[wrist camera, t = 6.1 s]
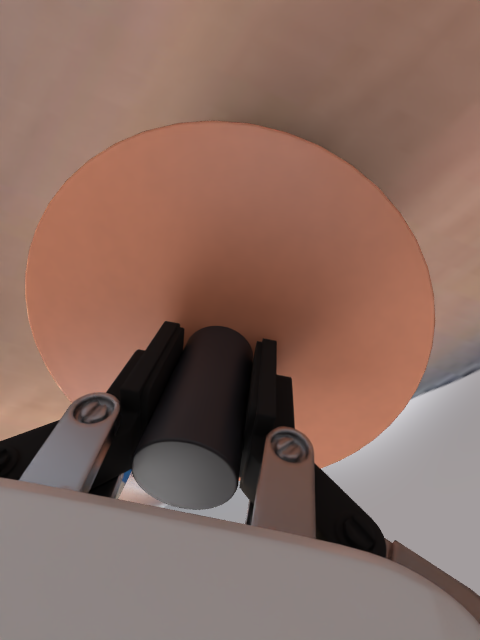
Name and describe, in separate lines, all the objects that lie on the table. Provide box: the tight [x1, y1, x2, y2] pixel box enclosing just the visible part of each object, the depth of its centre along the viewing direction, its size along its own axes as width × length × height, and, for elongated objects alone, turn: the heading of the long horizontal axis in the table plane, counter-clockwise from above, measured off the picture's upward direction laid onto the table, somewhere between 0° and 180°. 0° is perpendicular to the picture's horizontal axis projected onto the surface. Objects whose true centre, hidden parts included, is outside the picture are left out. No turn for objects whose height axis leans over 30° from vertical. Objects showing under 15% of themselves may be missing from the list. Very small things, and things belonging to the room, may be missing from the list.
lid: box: [25, 120, 435, 510], centre depth 11 cm, size 16×16×7 cm
